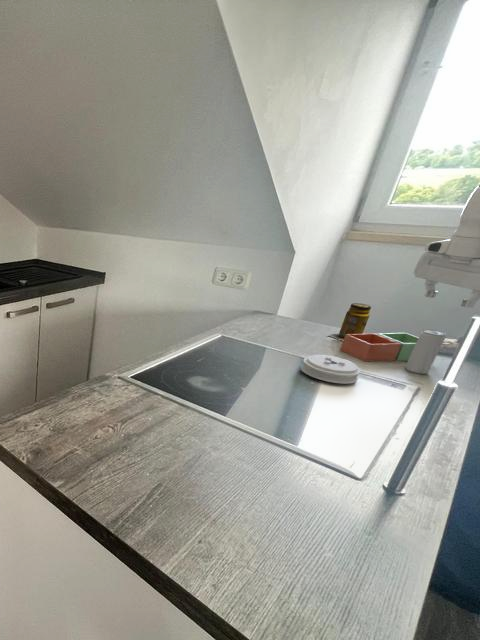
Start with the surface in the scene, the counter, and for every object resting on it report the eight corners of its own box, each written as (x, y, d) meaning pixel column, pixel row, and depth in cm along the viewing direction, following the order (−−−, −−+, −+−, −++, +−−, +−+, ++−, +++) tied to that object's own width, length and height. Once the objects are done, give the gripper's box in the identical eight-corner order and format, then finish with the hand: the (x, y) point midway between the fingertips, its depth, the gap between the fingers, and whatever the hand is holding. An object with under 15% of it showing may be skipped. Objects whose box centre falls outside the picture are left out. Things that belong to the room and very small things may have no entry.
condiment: (367, 340, 134) (380, 306, 129) (347, 342, 132) (359, 308, 128) (345, 333, 141) (357, 301, 136) (326, 335, 139) (337, 303, 134)
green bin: (398, 348, 127) (405, 332, 125) (427, 360, 119) (435, 343, 116) (370, 349, 127) (377, 333, 125) (396, 360, 119) (404, 343, 116)
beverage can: (421, 368, 113) (439, 329, 108) (432, 375, 109) (451, 335, 104) (401, 366, 115) (418, 328, 110) (410, 373, 111) (428, 334, 106)
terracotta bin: (368, 349, 127) (374, 333, 125) (394, 360, 119) (401, 343, 116) (339, 349, 127) (345, 333, 125) (363, 361, 119) (370, 344, 116)
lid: (320, 364, 118) (325, 349, 116) (367, 382, 107) (374, 365, 105) (289, 370, 114) (294, 355, 112) (334, 389, 103) (341, 373, 101)
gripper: (537, 254, 88) (505, 313, 94) (443, 242, 107) (421, 292, 112) (509, 255, 88) (479, 313, 94) (420, 243, 107) (400, 292, 112)
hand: (447, 301), depth 103 cm, fingers open, 8 cm apart
